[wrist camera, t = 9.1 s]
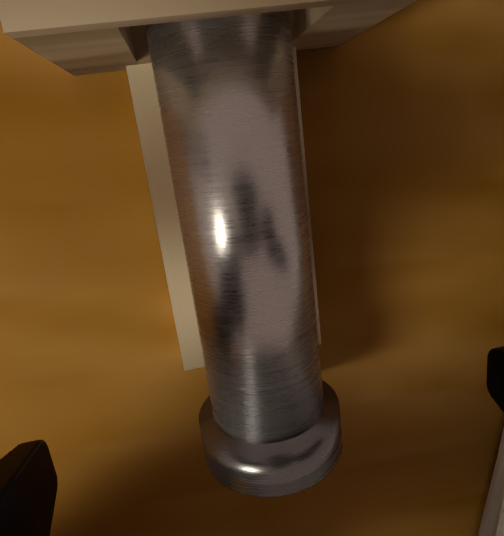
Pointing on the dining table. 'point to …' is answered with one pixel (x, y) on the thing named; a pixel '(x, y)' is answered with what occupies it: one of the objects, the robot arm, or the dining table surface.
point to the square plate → (495, 499)
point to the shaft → (247, 248)
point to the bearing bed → (145, 96)
